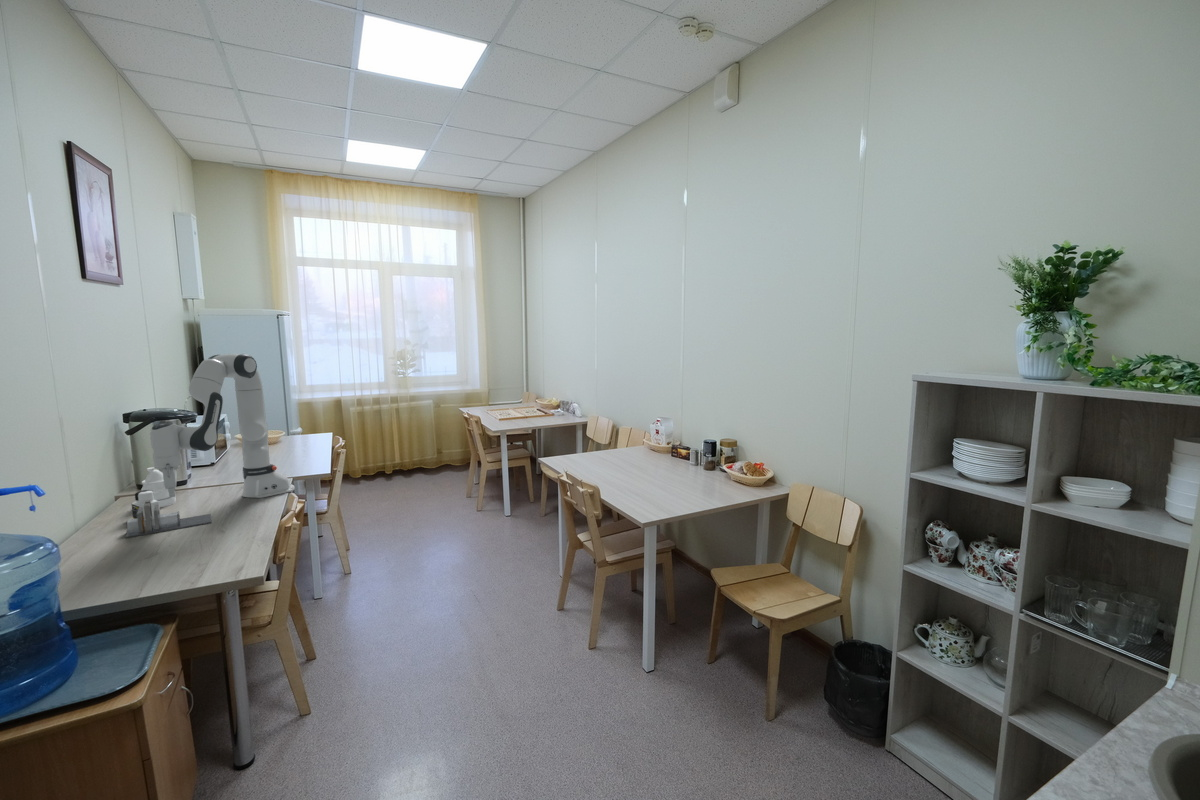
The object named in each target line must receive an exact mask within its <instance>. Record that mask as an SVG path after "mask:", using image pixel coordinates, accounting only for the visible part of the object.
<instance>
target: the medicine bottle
mask: <svg viewBox="0 0 1200 800" xmlns="http://www.w3.org/2000/svg"><path fill="white" fill-rule="evenodd" d="M134 498H135V499H134V500H135V501H134V502H132V503H131V512H132V519H136V518H137V512H138V508H139V507H143V514H144V517H145V512H144V504H145V500H151V507H152V516H154V506H155V505H158V504H159V501H157V500H154V493H153V491H152V490H143V491H141V490H139V491H137V492H135V493H134ZM159 513H160V514H161V507H159Z"/></svg>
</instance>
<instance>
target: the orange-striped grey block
mask: <svg viewBox="0 0 1200 800" xmlns="http://www.w3.org/2000/svg"><path fill="white" fill-rule="evenodd" d="M180 517H181V516H180V511H173V512H167V513H162V514H161V513H160V515H158V518H159V527H160V528H162V527H168V526H174V525H180V519H181V518H180ZM126 523H127V524H126V525H127V526H126V527H127V531H128V533H134V532H139V527H138V519H137V518H136V519H133V518H131V519H128V520H127V522H126ZM151 523H152V529H155V520H154V516H151ZM142 524H143V531H145V530H147V529H146V520H145V517H142Z"/></svg>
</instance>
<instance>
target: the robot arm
mask: <svg viewBox="0 0 1200 800" xmlns="http://www.w3.org/2000/svg"><path fill="white" fill-rule="evenodd" d="M257 368H258V366H257V361H256V360H255V358H254V357H253V356H251V354H250V355H249V354H245V353H227V354H226V353H225V354H215V355H212V356H209V357H208V358H207V359H203V360H202V361H201V363H200V364H198V367H197V368H196V370H195V372H194V373H193V376H192V378H191V380H190V383H189V386H188V393H189V394H190V396H191V397H192V398H193V399H194V400H196V401H198V402H200V403H202V404H203V406H204V411H203V417H202V421H201V424H200V425H199V426H184V425H179V424H176V423H175V422H174V421H173V422H172V421H165V422H158V423H157V424H154V425H153V426H152V427H151V429H150V434H149V435H150V445H151V448H152V450H153V452H152V458H153V459H152V461H153V467H154V469H156V470H159V471H160V472H162V473H163V480H164V487H165V489H168V492H169V497H175V496H176V488H177V477H178V469H179V468H180V466H181V465H182V464H183V458H182V453H181V450H189V451H191V450H194V451H201V452H207V451H210V450H212V449H213V448H214V447H216V444H217V443H218V439H219V434H218V433H219V424H220V419H221V415H222V414H221V413H222V411H223V410H222V409H223V403H224V402H223V401H224V399H223V396H222V395H221V390H222V387H223V385H224V380H225V378H233V380H234V390H235V398H236V406H237V420H238V429H239V434H240V436H241V448H242V449H241V450H242V451H241V453H242V462H243V464H242V465H243V467H242V478H243V490H242V494H241V496H242V497H243V498H257V499H263V498H266V497H271V496H276V495H277V496H278V495H281V494H285V493H291V492H293V491H295V490H296V488H295V485H294V484H292V483H290V480H289V477H287V476H286V474H285V475H284V474H282V473H281V472H278V471H277V470H278V467H277V466H276V465H275V464H273V463H271V460H270V447H269V446H270V445H269V431H268V430H269V429H268V423H267V419H266V418H267V417H266V409H265V408H266V406H265V399H264V389H263V384H262V383H263V382H262V379H261V376H260V372H259V370H258V369H257Z"/></svg>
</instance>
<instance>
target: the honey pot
mask: <svg viewBox="0 0 1200 800" xmlns="http://www.w3.org/2000/svg"><path fill="white" fill-rule="evenodd" d="M146 470H147V472H149V473H148V474H147V475H146V478H145V479H144V480H142V481H141V484H142V488H141V489H140V491H143V490H152V491H153V493H154V500H157V501H159V507H160V508H164V507H168V506H171V505H173V504H175V503H176V502H177V499H176V498H177V497H176V495H175V497H169V492H168V489H165V487H164V480H163V472H160V471H159V469H155V467H154V466H153V467H152V466H151V467H148V468H147V467H146Z"/></svg>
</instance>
